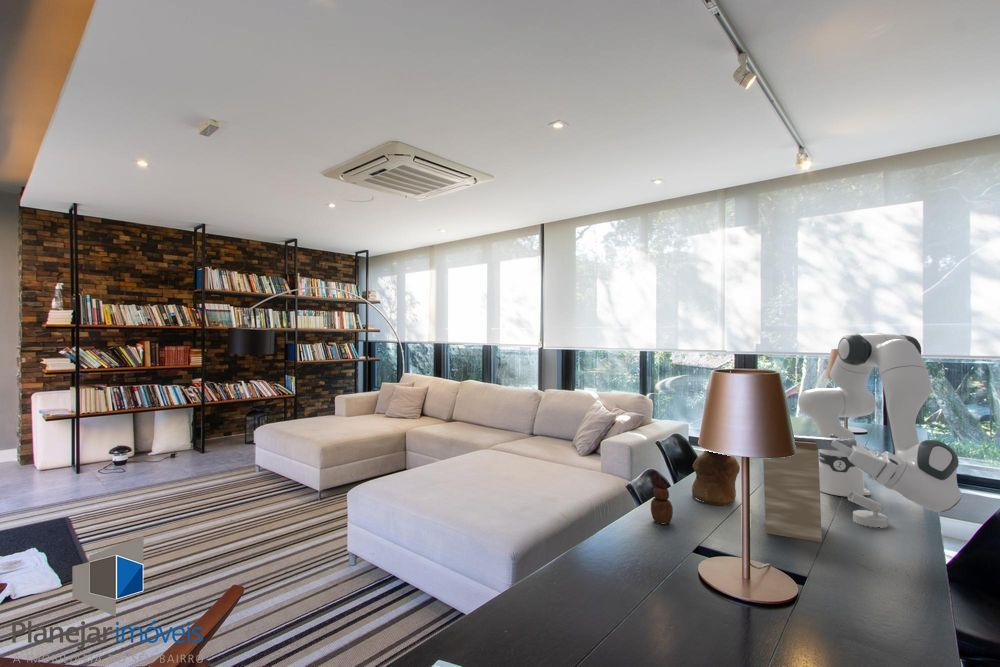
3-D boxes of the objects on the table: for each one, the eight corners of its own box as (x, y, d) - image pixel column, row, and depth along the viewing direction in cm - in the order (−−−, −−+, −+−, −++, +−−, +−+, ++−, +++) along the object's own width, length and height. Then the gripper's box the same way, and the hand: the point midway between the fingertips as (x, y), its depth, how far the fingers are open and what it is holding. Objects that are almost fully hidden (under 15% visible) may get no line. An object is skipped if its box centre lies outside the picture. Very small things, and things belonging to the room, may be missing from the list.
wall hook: (841, 487, 155) (876, 488, 153) (842, 517, 155) (877, 518, 153) (855, 495, 146) (893, 497, 144) (857, 527, 146) (894, 529, 144)
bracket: (775, 443, 147) (774, 417, 147) (855, 450, 136) (854, 422, 136) (774, 445, 144) (773, 419, 144) (856, 452, 134) (855, 423, 134)
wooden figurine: (647, 520, 155) (646, 474, 155) (660, 517, 157) (659, 471, 158) (663, 527, 149) (662, 479, 149) (676, 524, 151) (675, 476, 152)
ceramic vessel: (729, 492, 181) (726, 414, 182) (754, 513, 159) (751, 423, 160) (686, 492, 183) (684, 414, 183) (705, 512, 161) (702, 423, 162)
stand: (767, 517, 155) (764, 431, 156) (819, 525, 148) (816, 435, 148) (765, 532, 143) (762, 439, 144) (821, 542, 136) (818, 443, 136)
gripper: (885, 450, 140) (834, 424, 146) (898, 466, 122) (840, 436, 129) (872, 468, 141) (822, 441, 148) (883, 486, 124) (826, 455, 130)
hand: (830, 438), depth 138 cm, fingers open, 8 cm apart
